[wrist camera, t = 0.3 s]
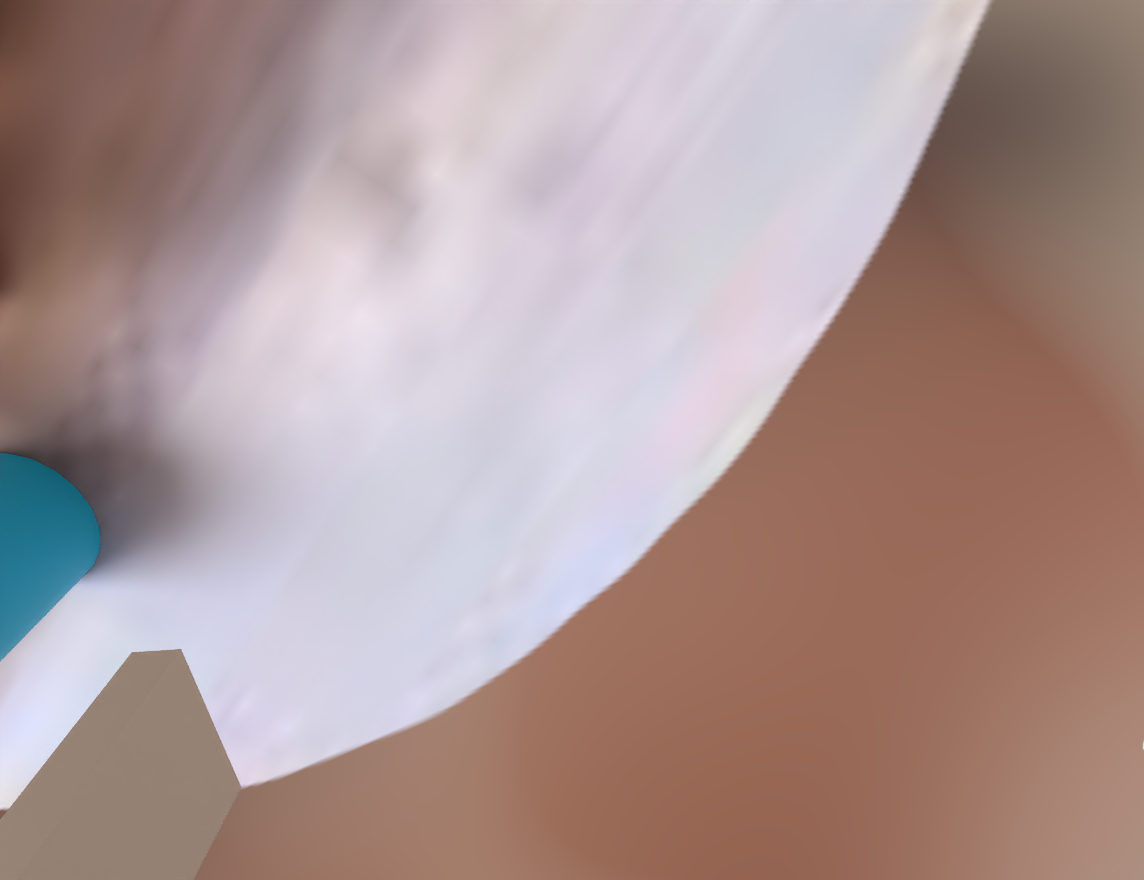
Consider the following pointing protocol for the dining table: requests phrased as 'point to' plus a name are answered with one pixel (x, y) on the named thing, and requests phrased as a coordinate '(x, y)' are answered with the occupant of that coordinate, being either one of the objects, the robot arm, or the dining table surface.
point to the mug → (39, 544)
